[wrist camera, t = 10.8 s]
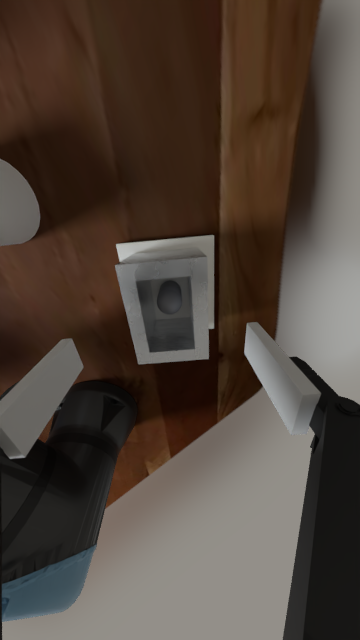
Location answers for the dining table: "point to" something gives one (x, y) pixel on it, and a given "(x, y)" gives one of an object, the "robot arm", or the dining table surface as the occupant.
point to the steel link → (148, 333)
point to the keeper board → (174, 291)
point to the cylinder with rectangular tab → (16, 207)
